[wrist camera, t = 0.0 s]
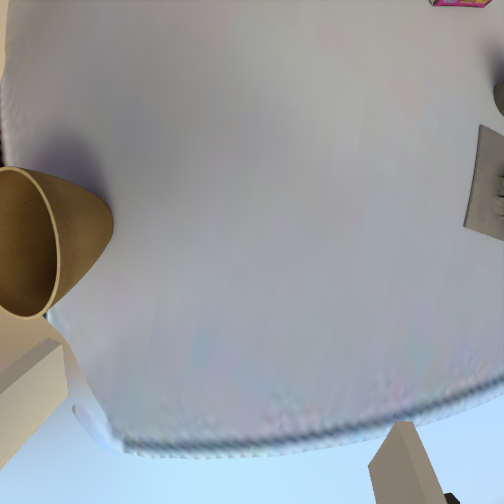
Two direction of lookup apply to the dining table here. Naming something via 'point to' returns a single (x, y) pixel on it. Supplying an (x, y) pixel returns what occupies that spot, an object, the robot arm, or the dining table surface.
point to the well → (488, 186)
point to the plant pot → (46, 239)
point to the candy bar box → (461, 3)
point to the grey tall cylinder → (499, 97)
